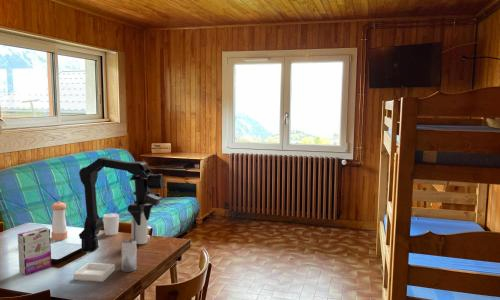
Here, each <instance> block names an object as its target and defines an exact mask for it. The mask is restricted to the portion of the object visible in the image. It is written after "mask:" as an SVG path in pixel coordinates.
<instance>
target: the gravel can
mask: <svg viewBox="0 0 500 300" xmlns="http://www.w3.org/2000/svg"><path fill="white" fill-rule="evenodd" d="M137 245H138V244H137V241H136V240H135V239H131V238H126V239H123V240H121V271H122V272H125V273H126V272H127V273H128V272H133V271H136V270H137V254H138V253H137V251H138V250H137Z"/></svg>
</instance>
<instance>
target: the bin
mask: <svg viewBox="0 0 500 300" xmlns="http://www.w3.org/2000/svg"><path fill="white" fill-rule="evenodd" d="M115 270H116V264H114V263H103V262H102V263H100V262H87V263H85V265H83V266H81V268H79V269H78V270H76V272H74V273H73V281H80V282H81V281H83V282H98V283H103V282H104V281H105V280H106V279H108V277H109V276H110V275H112V273H113V272H114V271H115Z"/></svg>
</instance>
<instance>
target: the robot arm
mask: <svg viewBox="0 0 500 300" xmlns="http://www.w3.org/2000/svg"><path fill="white" fill-rule="evenodd" d="M103 168H109V169H114V170H120V171H125V172H128V173H129V174H131V175H132V176H131V177H130V178H129V180H130V181H134V192H133V195H134V196H135V200H134V201H133V202H134V204H132V203H131V204H129V205H128V206H127V212H128V213H130V215H132V216H133V218H134V219H135V221H136V223H137V225H141V214H142V213H144V216H145V218H146V220H148V221H149V220H150V216H151V211H152V209H153V207H156V206H158V205H160V202H161V201H162V195H161V193H160V192H157V193H155V194H152V193H151V191H150V190H164V189H165V182H166V181H165V179H164V177H163V174H162V173H159V174H158V173H157V174H154V173H153V172H152V170H151V169H150V168H149V165H148V164H147V162H146V161H124V160H119V159H113V158H108V157H105V156H104V157H103V156H101V157H98V158H97V159H95V161H93V162H92V163H90V164H89V165H87V166H85V167H82V168H81V169H79V171H78V175H79V179H80V182H81V183H82V186H83V188H84V197H85V199H84V201H85V210H86V211H85V212H86V216H85V217H86V218H85V219H84V223H83V230H82V231H81V232H80V233H79V234H78V237H79V239H80V240H81V248H83V249H82V250H81V251H82V252H94V251H96V250H97V249H98V248H100V246H99V239H98V235H99V234H100V231H101V230H102V229H103V227H104V218H103V216H101V217H100V215H99V213H98V201H97V191H96V183H97V181H98V177H99V174H98V173H99V172H100V171H101V170H102V169H103ZM149 189H150V190H149ZM81 251H80V252H81Z"/></svg>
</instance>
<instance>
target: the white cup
mask: <svg viewBox="0 0 500 300" xmlns="http://www.w3.org/2000/svg"><path fill="white" fill-rule="evenodd" d="M102 218H103V230H104V235H105V236H115V235H117V234H118V233H119V225H120V224H119V223H120V222H119V221H120V214H118V213H114V212H111V213H105V214H103V216H102Z"/></svg>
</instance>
